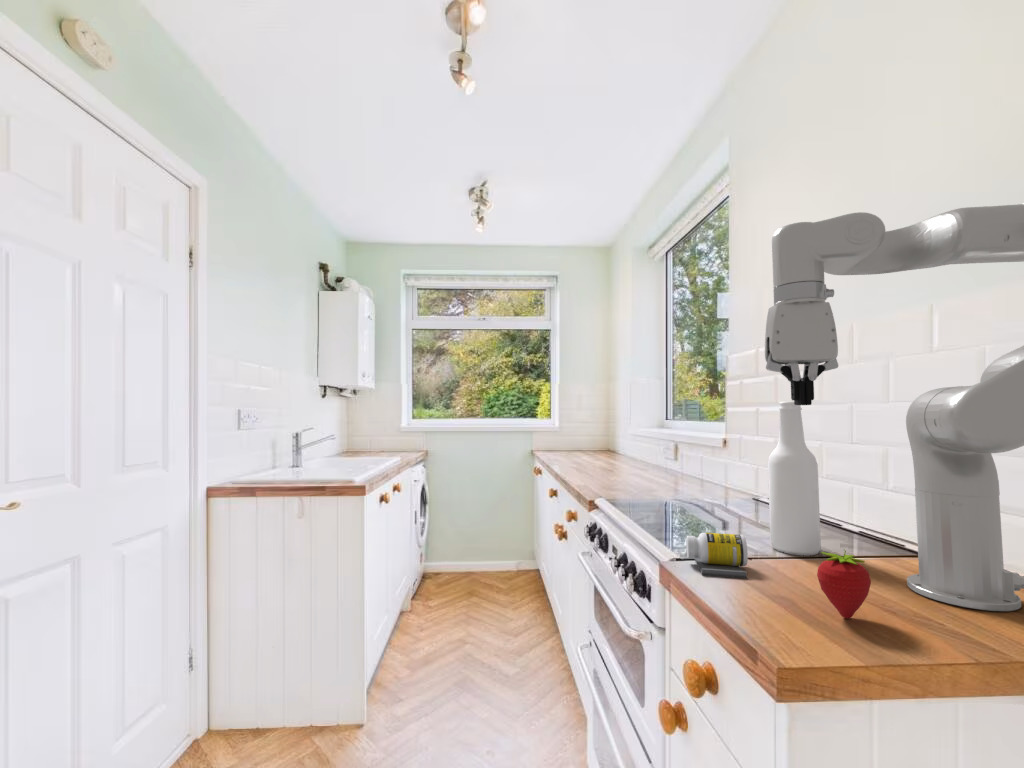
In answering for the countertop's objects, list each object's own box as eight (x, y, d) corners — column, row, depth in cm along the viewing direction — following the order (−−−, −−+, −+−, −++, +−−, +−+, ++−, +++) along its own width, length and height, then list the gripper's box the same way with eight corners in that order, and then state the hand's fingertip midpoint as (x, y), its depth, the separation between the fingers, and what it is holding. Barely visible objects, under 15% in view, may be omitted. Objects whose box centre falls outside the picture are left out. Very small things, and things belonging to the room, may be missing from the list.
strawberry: (810, 618, 65) (807, 543, 65) (830, 604, 69) (827, 534, 70) (862, 633, 60) (859, 553, 61) (880, 617, 65) (876, 542, 65)
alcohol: (773, 553, 94) (768, 401, 96) (768, 542, 102) (763, 402, 104) (825, 558, 91) (819, 400, 92) (816, 546, 99) (810, 401, 100)
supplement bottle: (748, 540, 83) (688, 538, 85) (748, 571, 83) (689, 567, 85) (741, 530, 88) (685, 527, 90) (742, 558, 88) (686, 555, 91)
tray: (730, 557, 92) (730, 551, 92) (746, 578, 80) (746, 572, 80) (692, 554, 93) (692, 549, 93) (702, 575, 82) (702, 569, 82)
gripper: (838, 300, 83) (842, 405, 82) (745, 304, 87) (748, 405, 86) (859, 289, 76) (864, 404, 75) (757, 295, 79) (760, 405, 78)
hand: (802, 404), depth 80 cm, fingers closed
